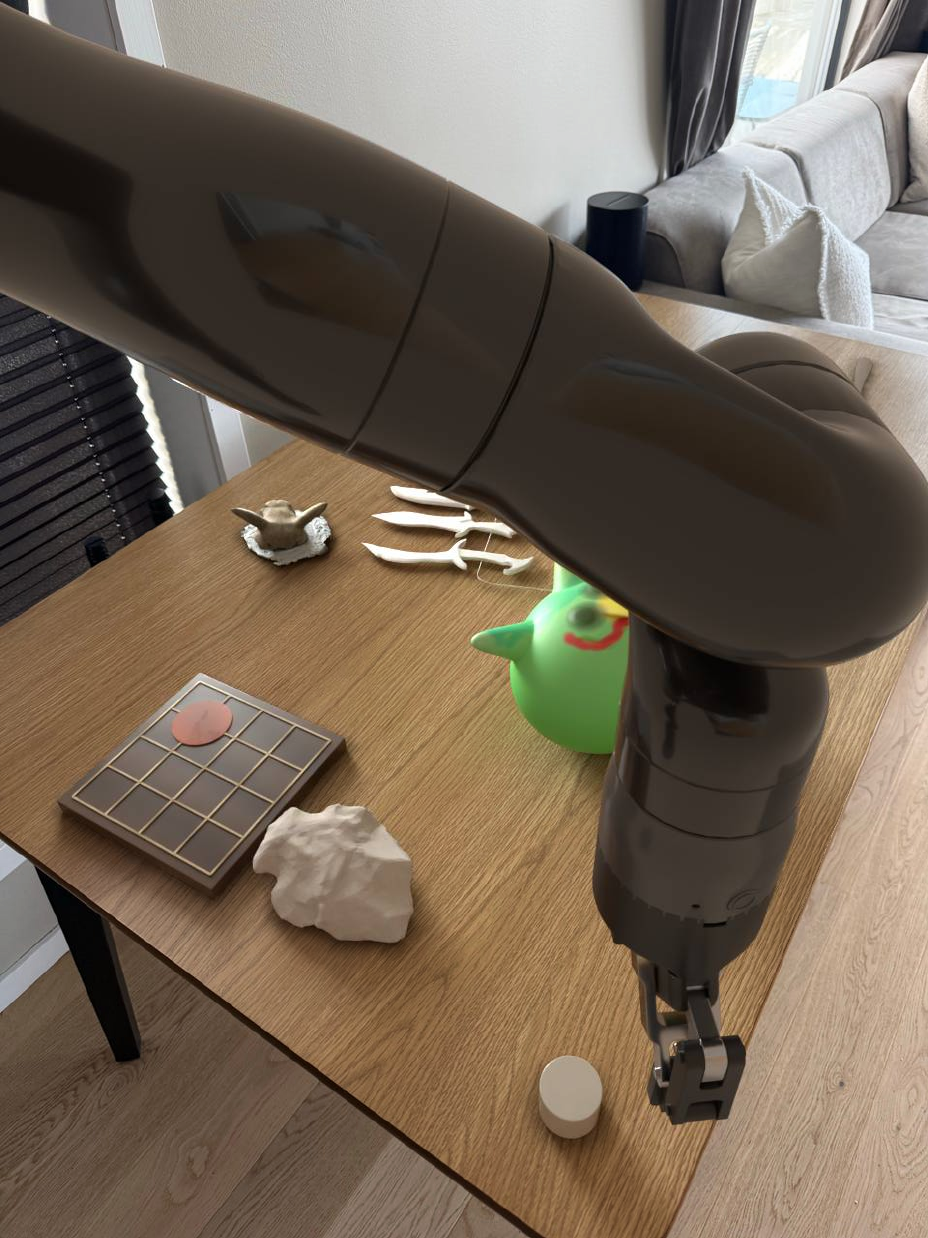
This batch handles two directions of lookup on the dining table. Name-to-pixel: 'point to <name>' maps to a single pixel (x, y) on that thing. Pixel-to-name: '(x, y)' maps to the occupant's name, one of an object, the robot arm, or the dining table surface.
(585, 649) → the toy bird
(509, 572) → the knife set
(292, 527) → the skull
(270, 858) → the decorative stone
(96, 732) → the dining table surface
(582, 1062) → the white cylinder
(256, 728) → the game board
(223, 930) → the dining table surface
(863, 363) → the butter knife
